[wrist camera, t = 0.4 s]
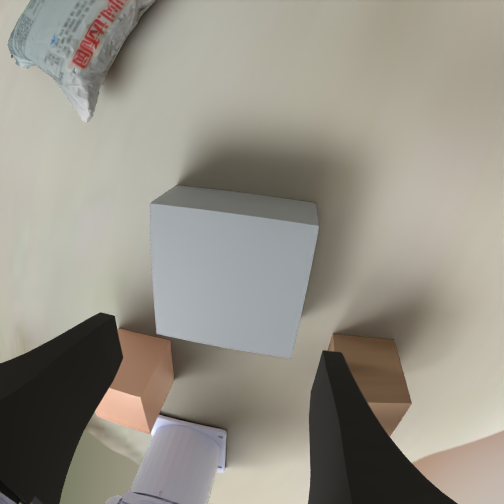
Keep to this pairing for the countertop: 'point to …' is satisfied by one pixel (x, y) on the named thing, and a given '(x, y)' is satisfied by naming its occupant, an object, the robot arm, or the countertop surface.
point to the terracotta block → (139, 382)
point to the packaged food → (75, 43)
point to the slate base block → (231, 267)
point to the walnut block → (376, 375)
